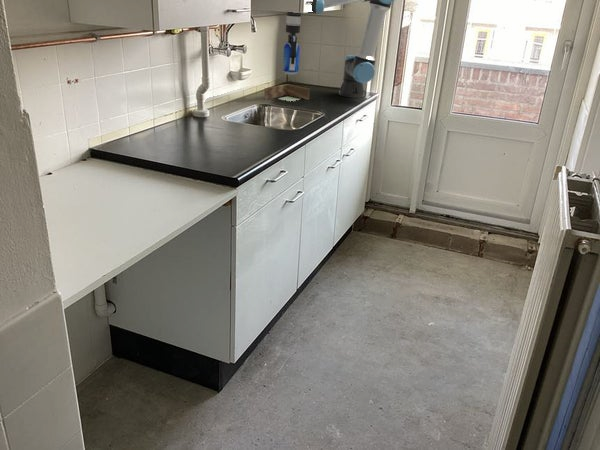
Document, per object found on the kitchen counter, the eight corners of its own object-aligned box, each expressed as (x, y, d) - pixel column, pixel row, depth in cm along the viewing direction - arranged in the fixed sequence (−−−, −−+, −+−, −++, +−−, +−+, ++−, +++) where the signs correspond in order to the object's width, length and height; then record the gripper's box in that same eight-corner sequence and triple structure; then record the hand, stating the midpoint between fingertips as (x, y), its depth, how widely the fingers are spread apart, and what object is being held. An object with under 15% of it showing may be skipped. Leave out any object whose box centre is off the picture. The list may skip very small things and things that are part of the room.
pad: (287, 96, 304) (287, 96, 303) (300, 99, 299) (300, 99, 299) (278, 99, 297) (278, 98, 297) (290, 101, 292) (290, 101, 292)
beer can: (300, 74, 290) (301, 44, 283) (285, 74, 287) (286, 43, 280) (295, 72, 297) (297, 42, 290) (280, 72, 294) (282, 41, 287)
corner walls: (285, 94, 309) (286, 83, 307) (309, 99, 301) (309, 88, 298) (264, 99, 294) (264, 88, 292) (287, 104, 286) (288, 93, 283)
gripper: (283, 22, 290) (281, 65, 299) (289, 26, 271) (286, 71, 281) (296, 23, 291) (294, 65, 301) (303, 27, 272) (300, 72, 282)
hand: (290, 68), depth 291 cm, fingers closed on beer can, 8 cm apart
